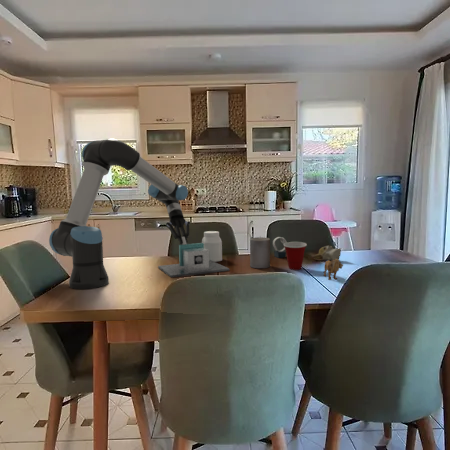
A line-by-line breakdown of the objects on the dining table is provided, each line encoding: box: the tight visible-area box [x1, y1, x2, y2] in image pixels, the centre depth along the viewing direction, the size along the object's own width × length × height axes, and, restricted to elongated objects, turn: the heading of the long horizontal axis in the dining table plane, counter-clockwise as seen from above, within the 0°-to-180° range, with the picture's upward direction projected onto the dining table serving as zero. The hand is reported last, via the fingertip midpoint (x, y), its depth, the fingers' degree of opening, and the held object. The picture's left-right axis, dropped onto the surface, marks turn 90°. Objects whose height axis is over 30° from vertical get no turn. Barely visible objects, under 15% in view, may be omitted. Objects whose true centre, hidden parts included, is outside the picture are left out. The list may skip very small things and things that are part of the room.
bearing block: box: [157, 248, 230, 279], centre depth 174 cm, size 28×22×10 cm
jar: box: [201, 230, 223, 263], centre depth 196 cm, size 12×10×15 cm
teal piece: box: [178, 242, 204, 266], centre depth 170 cm, size 12×12×10 cm
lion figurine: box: [322, 258, 344, 281], centre depth 154 cm, size 15×5×9 cm, turn 9°
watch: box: [272, 236, 287, 259], centre depth 202 cm, size 6×8×11 cm
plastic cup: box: [283, 241, 308, 271], centre depth 172 cm, size 11×11×12 cm
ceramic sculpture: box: [310, 244, 342, 261], centre depth 190 cm, size 11×9×15 cm
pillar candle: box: [249, 236, 271, 269], centre depth 178 cm, size 10×10×15 cm
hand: (185, 248), depth 185 cm, fingers closed
